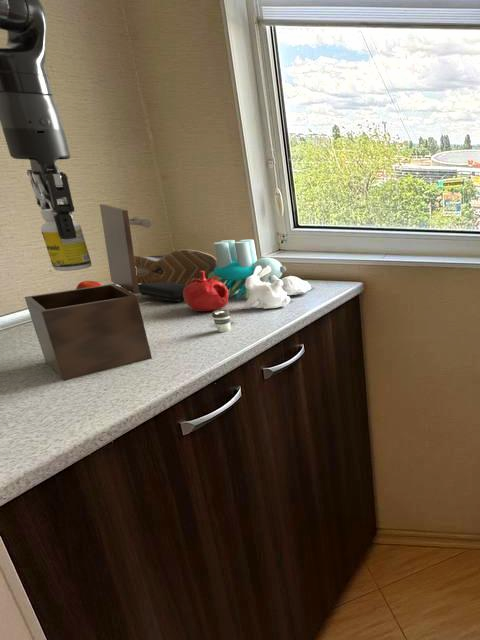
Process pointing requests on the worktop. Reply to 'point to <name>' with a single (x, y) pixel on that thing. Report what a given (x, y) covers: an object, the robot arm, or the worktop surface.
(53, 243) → the supplement bottle
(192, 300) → the pomegranate
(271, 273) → the toy
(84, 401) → the worktop surface
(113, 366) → the chest
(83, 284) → the red rounded piece
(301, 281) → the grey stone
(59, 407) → the worktop surface
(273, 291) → the rabbit figurine
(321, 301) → the worktop surface
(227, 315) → the grey ridged cylinder
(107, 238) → the lid
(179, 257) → the athletic shoe
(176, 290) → the carrying case
